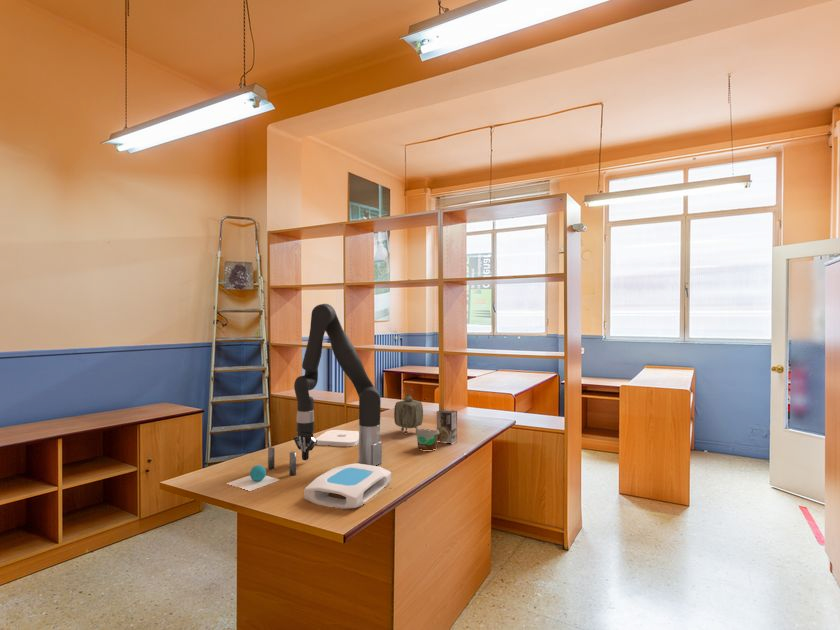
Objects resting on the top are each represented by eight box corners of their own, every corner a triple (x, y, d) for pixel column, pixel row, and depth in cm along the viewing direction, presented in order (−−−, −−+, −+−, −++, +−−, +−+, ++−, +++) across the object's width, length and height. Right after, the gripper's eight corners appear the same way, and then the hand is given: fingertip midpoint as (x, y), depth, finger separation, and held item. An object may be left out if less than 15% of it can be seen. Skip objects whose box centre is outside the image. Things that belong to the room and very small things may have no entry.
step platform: (302, 502, 157) (303, 484, 157) (345, 476, 183) (345, 461, 183) (355, 512, 149) (355, 493, 149) (391, 483, 175) (392, 467, 175)
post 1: (275, 468, 191) (275, 447, 191) (270, 470, 189) (270, 448, 189) (271, 467, 192) (271, 446, 192) (266, 469, 190) (266, 447, 190)
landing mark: (279, 480, 177) (279, 479, 177) (249, 491, 166) (249, 491, 166) (256, 473, 185) (256, 472, 185) (226, 483, 173) (226, 483, 173)
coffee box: (457, 442, 233) (457, 410, 233) (451, 444, 228) (451, 413, 228) (442, 439, 238) (442, 408, 238) (436, 442, 233) (436, 410, 233)
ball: (260, 465, 174) (254, 481, 172) (271, 468, 178) (265, 484, 176) (250, 462, 177) (244, 477, 175) (261, 465, 182) (255, 480, 179)
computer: (353, 448, 223) (353, 442, 223) (312, 445, 227) (312, 440, 227) (367, 436, 244) (367, 431, 244) (329, 434, 249) (329, 429, 249)
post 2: (297, 474, 184) (297, 452, 184) (292, 476, 182) (292, 453, 182) (292, 473, 185) (293, 451, 185) (288, 475, 183) (288, 452, 183)
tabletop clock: (423, 433, 251) (423, 388, 251) (414, 436, 243) (414, 390, 243) (401, 429, 259) (401, 386, 259) (392, 432, 251) (392, 388, 251)
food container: (411, 450, 218) (411, 429, 218) (416, 446, 224) (416, 426, 224) (435, 453, 214) (435, 432, 214) (439, 449, 219) (439, 429, 220)
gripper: (322, 420, 198) (322, 460, 198) (301, 417, 205) (301, 455, 205) (309, 424, 191) (309, 464, 191) (288, 420, 199) (288, 459, 198)
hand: (305, 459), depth 198 cm, fingers closed
